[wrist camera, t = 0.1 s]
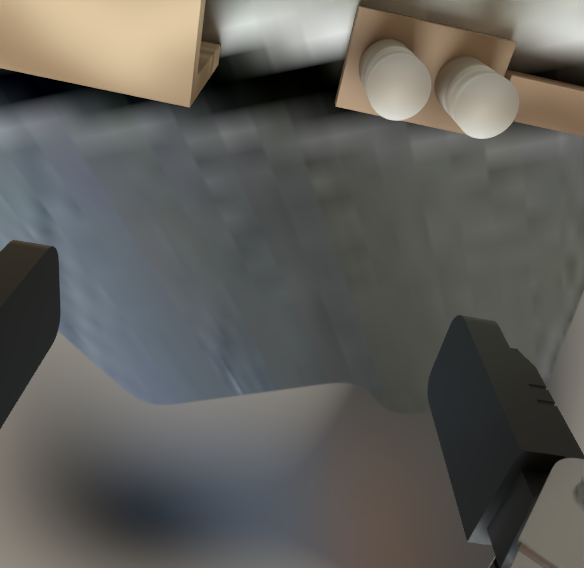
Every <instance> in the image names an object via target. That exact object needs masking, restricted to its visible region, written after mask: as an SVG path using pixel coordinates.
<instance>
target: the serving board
mask: <svg viewBox="0 0 584 568" xmlns="http://www.w3.org/2000/svg"><path fill="white" fill-rule="evenodd" d="M516 44H517V43H516V42H514V41H511V40H508V39H504V38H499V37H495V36H491V35H486V34H482V33H478V32H473V31H469V30H465V29H461V28H456V27H452V26H448V25H443V24H439V23H435V22H430V21H426V20H422V19H417V18H413V17H409V16H404V15H400V14H396V13H392V12H387V11H383V10H379V9H374V8H370V7H366V6H361V5H358V7H357V11H356V15H355V19H354V24H353V28H352V32H351V36H350V40H349V44H348V49H347V53H346V57H345V61H344V65H343V69H342V74H341V78H340V82H339V86H338V90H337V95H336V99H335V106H336V107H340V108H345V109H350V110H354V111H359V112H364V113H369V114H373V115H378V116H382V117H384V118H386V119H389V120H401V121H406V122H411V123H415V124H420V125H425V126H429V127H434V128H439V129H443V130H448V131H453V132H457V133H462V134H467V135H469V136H471V137H474V138H479V139H485V138H491V137H494V136H496V135H498V134H500V133H502V132H503V131H504V130H506V129H507V128H508V127H509V126H510V125H511V123H512V122H513V121H515V122H520V123H524V124H529V125H533V126H538V127H543V128H547V129H552V130H556V131H561V132H565V133H570V134H575V135H579V136H584V87H583V86H578V85H574V84H569V83H565V82H561V81H556V80H552V79H547V78H543V77H538V76H534V75H530V74H525V73H521V72H516V71H512V70H508V69H507V68H508V65H509V62H510V60H511V57H512V55H513V52H514V49H515V47H516Z"/></svg>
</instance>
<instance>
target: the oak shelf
mask: <svg viewBox="0 0 584 568" xmlns="http://www.w3.org/2000/svg"><path fill="white" fill-rule="evenodd" d="M205 1H206V0H0V68H3V69H7V70H12V71H17V72H22V73H27V74H31V75H36V76H41V77H46V78H51V79H56V80H60V81H65V82H70V83H75V84H80V85H84V86H89V87H94V88H99V89H104V90H108V91H113V92H118V93H123V94H128V95H132V96H137V97H142V98H147V99H152V100H157V101H161V102H166V103H171V104H176V105H181V106H185V107H190V106H191V105H192V103H193V102H194V100H195V99H196V97H197V96H198V94H199V93H200V91H201V90H202V88H203V87H204V85H205V84H206V82H207V81H208V79H209V78H210V76H211V75H212V73H213V72H214V70H215V69H216V67H217V66H218V63H219V55H220V47H221V45H219V44H214V43H210V42H205V41H201V38H202V28H203V19H204V10H205Z"/></svg>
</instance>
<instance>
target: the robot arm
mask: <svg viewBox="0 0 584 568" xmlns="http://www.w3.org/2000/svg"><path fill="white" fill-rule="evenodd" d="M59 323H60V286H59V260H58V253H57V250H56V248H55V247H53V246H47V245H41V244H35V243H29V242H23V241H17V240H13V241H11V242H10V243H8V244H7V245H6V247H5V248H4V249H3V250H2V251H1V252H0V429H1V427H2V425H3V424H4V422H5V421H6V419H7V417H8V416H9V414H10V412H11V411H12V409H13V408H14V406H15V404H16V402H17V401H18V399H19V398H20V396H21V395H22V393H23V391H24V390H25V388H26V386H27V385H28V383H29V381H30V380H31V378H32V376H33V375H34V373H35V372H36V370H37V368H38V367H39V365H40V364H41V362H42V360H43V359H44V357H45V355H46V354H47V352H48V351H49V349H50V347H51V346H52V344H53V342H54V340H55V338H56V335H57V332H58V328H59ZM428 401H429V405H430V409H431V413H432V416H433V420H434V423H435V427H436V431H437V434H438V438H439V441H440V445H441V449H442V452H443V456H444V460H445V463H446V467H447V470H448V474H449V478H450V481H451V485H452V488H453V492H454V496H455V499H456V502H457V506H458V510H459V513H460V517H461V521H462V525H463V528H464V532H465V535H466V539H467V542H473V543H480V544H487V545H492V547H493V550H494V553H495V556H496V557H495V558H494V560H493V561H492V563H491V565H490V566H489V568H584V455H583V453H582V451H581V449H580V447H579V445H578V444H577V442H576V440H575V438H574V436H573V435H572V433H571V431H570V429H569V427H568V426H567V424H566V422H565V420H564V418H563V416H562V415H561V413H560V411H559V409H558V407H556V406H554V403H555V402H554V400H553V398H552V396H551V395H550V393H549V391H548V390H546V385H545V384H544V382H543V380H542V378H541V376H540V374H539V373H538V371H537V369H536V367H535V366H534V365H533V364H532V363H531V362H530V361H529V360H528V359H527V358H525V357H524V356H523V355H522V354H521V353H520V352H519V351H518V350H517V349H514V348H510V347H509V345H508V343H507V341H506V339H505V337H504V335H503V333H502V331H501V330H500V328H499V326H498V324H497V323H496V322H495V321H491V320H485V319H479V318H473V317H467V316H461V315H458V316H456V317H455V318H454V319H453V321H452V323H451V325H450V327H449V329H448V332H447V334H446V337H445V339H444V341H443V344H442V346H441V349H440V351H439V354H438V356H437V358H436V361H435V363H434V366H433V368H432V370H431V373H430V377H429V382H428Z"/></svg>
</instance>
